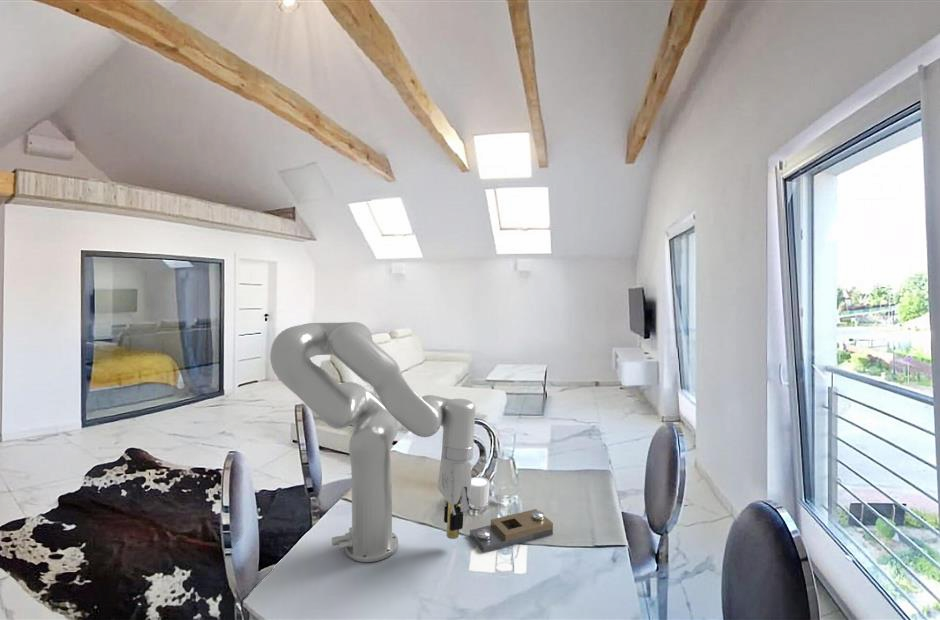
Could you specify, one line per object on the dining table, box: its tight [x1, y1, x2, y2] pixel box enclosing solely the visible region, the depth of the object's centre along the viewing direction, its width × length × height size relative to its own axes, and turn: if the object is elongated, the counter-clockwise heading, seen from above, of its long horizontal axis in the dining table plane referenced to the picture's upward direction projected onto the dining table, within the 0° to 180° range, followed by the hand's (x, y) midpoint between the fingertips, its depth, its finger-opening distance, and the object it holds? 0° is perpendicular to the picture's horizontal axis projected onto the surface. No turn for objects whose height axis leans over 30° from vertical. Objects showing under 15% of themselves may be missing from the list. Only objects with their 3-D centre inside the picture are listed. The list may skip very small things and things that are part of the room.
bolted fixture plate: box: [469, 508, 554, 554], centre depth 115 cm, size 20×8×4 cm, turn 115°
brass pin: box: [445, 499, 461, 540], centre depth 108 cm, size 3×3×10 cm
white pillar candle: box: [469, 476, 491, 507], centre depth 131 cm, size 7×7×7 cm
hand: (453, 524), depth 108 cm, fingers closed on brass pin, 3 cm apart
